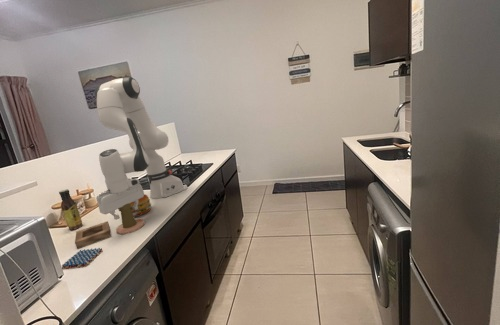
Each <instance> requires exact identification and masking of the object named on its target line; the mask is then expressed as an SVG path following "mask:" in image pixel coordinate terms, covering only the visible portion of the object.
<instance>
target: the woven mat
mask: <svg viewBox="0 0 500 325" xmlns="http://www.w3.org/2000/svg"><path fill="white" fill-rule="evenodd" d="M103 251H104V250H103V247H98V248H97V247H95V248H91V249H89V248H88V249H80V250H78V251H77V252H76V253H75V254H73V256H71V257H70V258H69V259H68V260H66V261H65V262H64V263H63V264H62V265H61V269H62V270H68V269H78V268H85V267H89V265H90V264H91V263H92V262H93V261H94V260H95V259H96V258H97V257H98V256H100V255H101V254H102V253H103Z"/></svg>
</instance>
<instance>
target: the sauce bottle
mask: <svg viewBox="0 0 500 325" xmlns="http://www.w3.org/2000/svg"><path fill="white" fill-rule="evenodd" d="M58 194H59V196H60V199H61V203H60V207H61V211H62V214H63V217H64V219H65V223H66V225H67V228H68V230H69V231H72V230H76V229H79V228H82V226H83V221H82V220H83V219H82V217H81V215H80V211H79V208H78V205H77V203H76V202H75V200H74V199H73V198H72V196H71V195H70V190H69V189H61V190H60V191H58Z"/></svg>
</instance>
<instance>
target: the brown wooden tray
mask: <svg viewBox="0 0 500 325" xmlns="http://www.w3.org/2000/svg"><path fill="white" fill-rule="evenodd" d="M110 227H111V226H110V224H109V221H104V222H101V223H97V224H95V225H92V226H89V227H86V228H82V229H80V230H77V231H75V239H74V244H75V247H76V249H77V250H78V249H81V248H84V247H86V246H87V247H88V246H89V245H93V244H95V243H97V242H100V241H103V240H106V239H109V238H111V237H112V234H111V228H110Z"/></svg>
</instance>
